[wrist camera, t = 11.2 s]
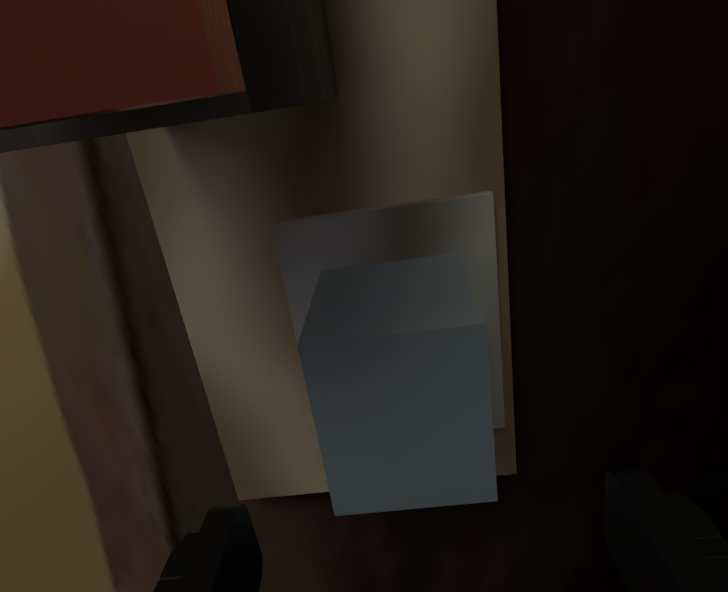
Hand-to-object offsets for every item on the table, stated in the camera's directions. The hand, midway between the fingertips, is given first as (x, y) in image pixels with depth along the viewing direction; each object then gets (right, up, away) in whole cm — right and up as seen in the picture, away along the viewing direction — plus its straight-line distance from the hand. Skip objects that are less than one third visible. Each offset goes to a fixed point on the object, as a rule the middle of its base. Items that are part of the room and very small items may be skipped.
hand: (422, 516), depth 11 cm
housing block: (0, +3, +9) cm, 9 cm away
